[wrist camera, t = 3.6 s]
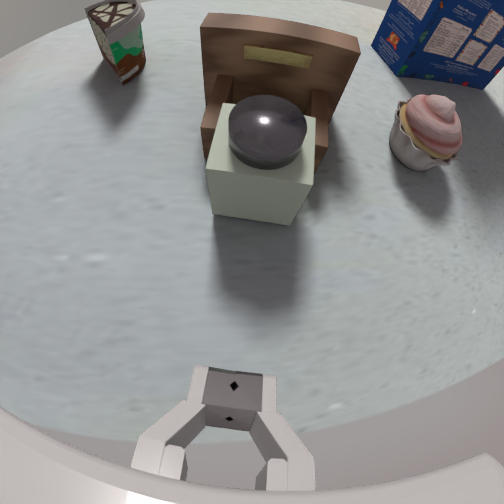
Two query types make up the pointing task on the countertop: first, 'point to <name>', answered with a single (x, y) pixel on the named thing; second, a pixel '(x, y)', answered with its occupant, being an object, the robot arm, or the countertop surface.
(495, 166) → the countertop surface
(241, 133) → the sliding knob
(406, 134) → the cupcake
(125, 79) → the food container
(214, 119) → the walnut mount
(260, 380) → the robot arm
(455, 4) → the pasta box
